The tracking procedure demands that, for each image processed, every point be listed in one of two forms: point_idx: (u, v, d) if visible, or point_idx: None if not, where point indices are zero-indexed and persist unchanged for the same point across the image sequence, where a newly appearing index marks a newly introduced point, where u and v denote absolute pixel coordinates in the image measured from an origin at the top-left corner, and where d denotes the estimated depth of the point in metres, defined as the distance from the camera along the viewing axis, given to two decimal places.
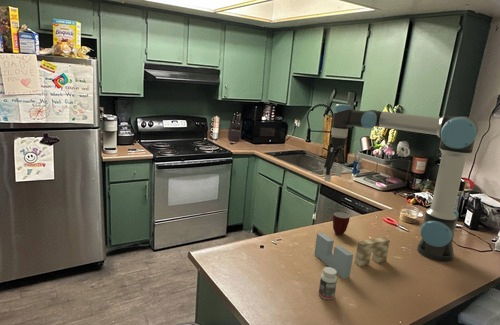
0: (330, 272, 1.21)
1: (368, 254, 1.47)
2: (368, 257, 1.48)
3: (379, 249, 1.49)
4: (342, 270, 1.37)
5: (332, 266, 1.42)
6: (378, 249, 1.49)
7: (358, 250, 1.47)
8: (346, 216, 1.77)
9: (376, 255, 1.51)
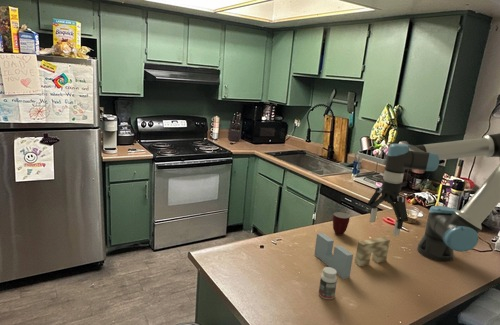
0: (330, 272, 1.21)
1: (368, 254, 1.47)
2: (368, 257, 1.48)
3: (379, 249, 1.49)
4: (342, 270, 1.37)
5: (332, 266, 1.42)
6: (378, 249, 1.49)
7: (358, 250, 1.47)
8: (346, 216, 1.77)
9: (376, 255, 1.51)
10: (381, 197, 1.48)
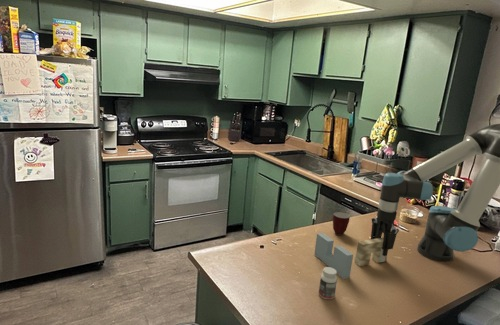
0: (330, 272, 1.21)
1: (368, 254, 1.47)
2: (368, 257, 1.48)
3: (379, 249, 1.49)
4: (342, 270, 1.37)
5: (332, 266, 1.42)
6: (378, 249, 1.49)
7: (358, 250, 1.47)
8: (346, 216, 1.77)
9: (376, 255, 1.51)
10: (378, 226, 1.50)
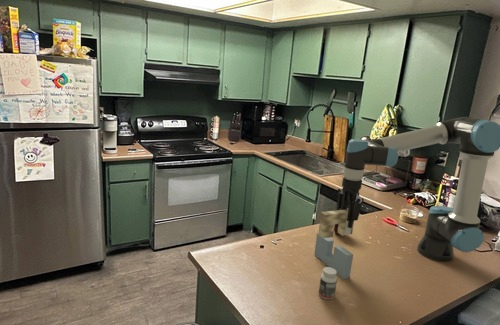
0: (330, 272, 1.21)
1: (331, 225, 1.38)
2: (332, 229, 1.39)
3: (344, 221, 1.41)
4: (342, 270, 1.37)
5: (332, 266, 1.42)
6: (343, 221, 1.40)
7: (321, 221, 1.38)
8: None
9: (341, 227, 1.42)
10: (343, 197, 1.41)
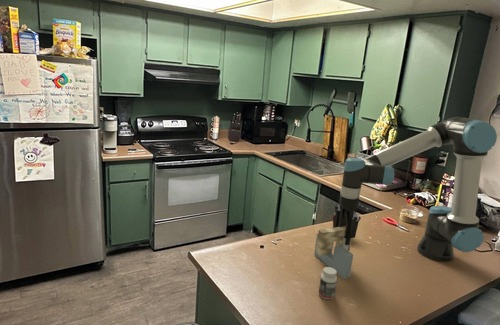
0: (330, 272, 1.21)
1: (329, 243, 1.40)
2: (329, 246, 1.41)
3: (341, 238, 1.42)
4: (342, 270, 1.37)
5: (332, 266, 1.42)
6: (340, 238, 1.42)
7: (319, 239, 1.40)
8: None
9: (339, 244, 1.44)
10: (341, 214, 1.43)
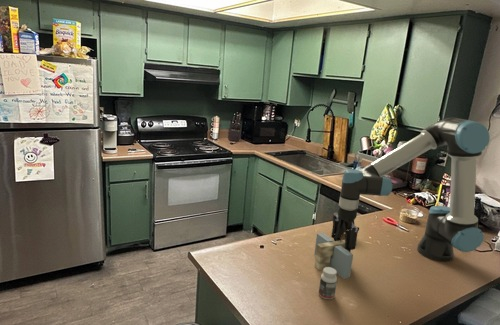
0: (330, 272, 1.21)
1: (327, 257, 1.42)
2: (328, 260, 1.42)
3: None
4: (342, 270, 1.37)
5: (332, 266, 1.42)
6: None
7: (317, 253, 1.42)
8: None
9: None
10: (339, 225, 1.44)
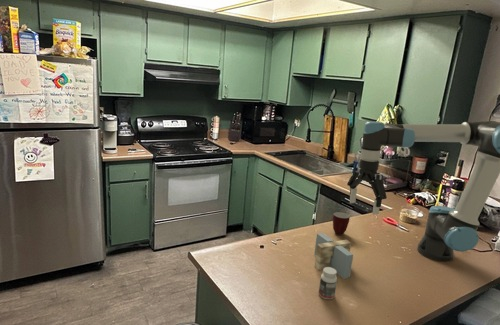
0: (330, 272, 1.21)
1: (327, 257, 1.42)
2: (328, 260, 1.42)
3: None
4: (342, 270, 1.37)
5: (332, 266, 1.42)
6: None
7: (317, 253, 1.41)
8: (346, 216, 1.77)
9: None
10: (359, 176, 1.46)
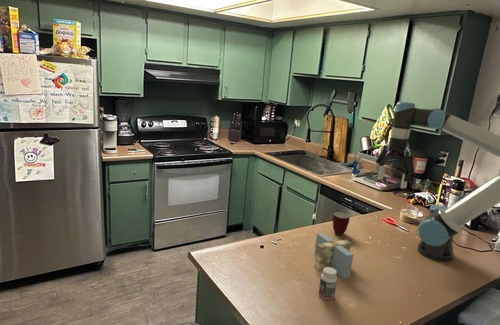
0: (330, 272, 1.21)
1: (327, 257, 1.42)
2: (328, 260, 1.42)
3: None
4: (342, 270, 1.37)
5: (332, 266, 1.42)
6: None
7: (317, 253, 1.41)
8: (346, 216, 1.77)
9: None
10: (389, 153, 1.57)
